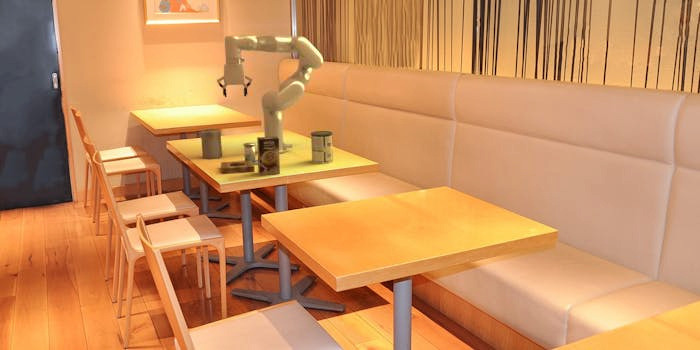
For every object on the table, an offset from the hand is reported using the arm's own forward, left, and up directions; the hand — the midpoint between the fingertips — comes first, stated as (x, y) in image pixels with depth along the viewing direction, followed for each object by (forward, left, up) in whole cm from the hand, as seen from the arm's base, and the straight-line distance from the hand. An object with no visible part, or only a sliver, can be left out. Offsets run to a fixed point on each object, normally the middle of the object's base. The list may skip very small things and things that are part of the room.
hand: (235, 96), depth 315 cm
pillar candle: (+13, -2, -31) cm, 33 cm away
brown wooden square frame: (+3, +31, -30) cm, 43 cm away
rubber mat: (-4, +18, -30) cm, 35 cm away
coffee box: (-10, +43, -31) cm, 54 cm away
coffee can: (-38, +25, -31) cm, 55 cm away
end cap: (-4, +18, -30) cm, 35 cm away
